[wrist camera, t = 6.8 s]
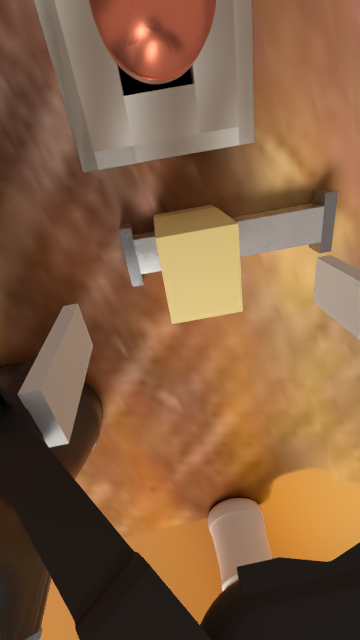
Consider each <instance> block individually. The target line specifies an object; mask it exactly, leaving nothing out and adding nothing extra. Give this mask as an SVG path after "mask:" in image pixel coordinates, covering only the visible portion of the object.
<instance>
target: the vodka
mask: <svg viewBox="0 0 360 640" xmlns="http://www.w3.org/2000/svg"><path fill="white" fill-rule="evenodd" d="M208 524H209V530H210V533H211V535H212V537H213V541H214V545H215V549H216V553H217V557H218V562H219V566H220V572H221V579H222V590H223V591H224V590H225V589H226V588H227V587H228V586H230V585H231V584H233V583H234V582H236V581H237V580H238V575H237V567H238V566H243V565H247V564H252V563H256V562H261V561H265V560H270V559H272V555H271V551H270V547H269V543H268V539H267V535H266V530H265V526H264V517H263V513H262V510H261V508H260V506H259V505H258V504H257V503H256V502H255V501H253V500H250V499H247V498H230V499H227V500H224V501H222V502H220V503H218V504H217V505H216V506H215V507H213V508H212V510H211V511H210V513H209V516H208Z"/></svg>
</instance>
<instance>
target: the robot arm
mask: <svg viewBox="0 0 360 640" xmlns="http://www.w3.org/2000/svg"><path fill="white" fill-rule="evenodd" d="M313 303H314V304H315V305H317V306H318V307H319V308H320V309H321V310H323V311H324V312H325V313H326V314H327V315H329V316H330V317H331V318H332V319H334V320H335V321H336V322H337V323H338V324H340V325H341V326H342V327H343V328H344V329H346V330H347V331H348V332H349V333H350V334H352V335H353V336H354V337H355V338H357V339H358V340H359V341H360V270H359V269H357V268H355V267H353V266H351V265H349V264H347V263H345V262H343V261H341V260H339V259H337V258H335V257H333V256H331V255H328V256H323V257H318V258H317V261H316V273H315V284H314V296H313ZM92 349H93V343H92V341H91V338H90V335H89V333H88V330H87V327H86V324H85V322H84V319H83V316H82V314H81V311H80V308H79V305H78V303H77V304H72V305H67V306H63V308H62V310H61V312H60V314H59V316H58V317H57V319H56V321H55V323H54V325H53V327H52V329H51V331H50V333H49V335H48V337H47V339H46V341H45V342H44V344H43V346H42V348H41V350H40V352H39V354H38V356H37V357H35V358H30V359H28V360H27V361H26V362H25V363H23V364H12V365H6V366H2V367H0V640H39V639H40V637H41V632H42V628H41V623H42V619H43V614H44V610H45V605H46V601H47V596H48V592H49V587H50V583H51V578H52V580H53V581H54V583H55V585H56V587H57V589H58V591H59V593H60V595H61V596H62V598H63V600H64V602H65V604H66V606H67V607H68V609H69V611H70V613H71V615H72V617H73V619H74V621H75V624H76V625H75V626H76V632H77V634H78V636H79V639H80V640H360V543H358V544H357V545H356V546H354V547H352V548H351V549H349V550H348V551H346V552H345V553H343V554H342V555H340V556H339V557H337V558H336V559H334V560H332V561H330V562H322V561H311V560H301V559H291V558H280V557H279V558H274V559H270V560H265V561H261V562H256V563H252V564H247V565H243V566H238V567H237V575H238V580H237V581H236V582H234V583H233V584H231V585H230V586H228V587H227V588H226V589H225V590H224V591H223V592H222V593H221V594H220V595H219V596H218V597H217V598H216V600H215V601H214V602H213V603H212V605H211V607H210V608H209V610H208V611H207V613H206V614H205V616H204V618H203V620H202V622H201V624H200V625H199V624H198V622H197V621H196V620H195V619H194V618H193V617H192V615H191V614H190V613H189V612H188V611H187V609H186V608H185V607H184V606H183V605H182V603H181V602H180V601H179V600H178V599H177V597H176V596H175V595H174V594H173V593H172V591H171V590H170V589H169V588H168V587H167V586H166V584H165V583H164V582H163V581H162V579H161V578H160V577H159V576H158V575H157V573H156V572H155V571H154V570H153V569H152V567H151V566H150V565H149V564H148V563H147V562H146V561H145V559H144V558H143V557H141V555H140V554H139V553H137V552H134V551H133V550H132V549H131V547H130V546H129V545H128V544H127V543H126V542H125V540H124V539H123V538H122V537H121V535H120V534H119V533H118V532H117V531H116V529H115V528H114V527H113V526H112V524H111V523H110V522H109V521H108V520H107V518H106V517H105V516H104V515H103V514H102V512H101V511H100V510H99V509H98V507H97V506H96V505H95V504H94V503H93V501H92V500H91V499H90V498H89V497H88V495H87V494H86V493H85V492H84V490H83V489H82V488H81V487H80V486H79V484H78V483H77V482H76V481H75V479H76V477H77V475H78V473H79V472H80V470H81V468H82V467H83V465H84V463H85V462H86V460H87V458H88V456H89V454H90V453H91V451H92V449H93V448H94V446H95V445H96V443H97V440H98V438H99V435H100V430H101V424H102V418H103V412H102V407H101V404H100V401H99V399H98V397H97V396H96V394H95V393H94V392H93V390H92V389H91V388H90V387H89V386H88V385H87V384H86V383H84V381H85V377H86V373H87V369H88V365H89V361H90V357H91V353H92Z"/></svg>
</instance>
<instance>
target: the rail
mask: <svg viewBox="0 0 360 640" xmlns="http://www.w3.org/2000/svg"><path fill="white" fill-rule="evenodd" d="M337 193H338V191H334V190H329V189H320V190H315V191H313V202H312V203H309V204H303V205H298V206H292V207H287V208H281V209H275V210H270V211H264V212H259V213H253V214H247V215H242V216H236V217H231V218H232V219H233V220H234V221H236V222H237V223H238V228H239V248H240V257H241V256H247V255H252V254H258V253H264V252H269V251H275V250H280V249H286V248H291V247H297V246H303V245H308V244H309V247H310V248H312V249H313V250H315V251H317V252H319V253H324V252H330V251H331V246H332V237H333V228H334V219H335V210H336V202H337ZM118 231H119V235H120V239H121V243H122V247H123V251H124V255H125V259H126V263H127V267H128V271H129V275H130V278H131V282H132V286H133V287H135V286H140V285H144V275H143V274H146V273H152V272H158V271H162V270H161V265H160V260H159V254H158V249H157V244H156V239H155V231H152V232H147V233H141V234H135V235H134V231H133V227H132V223H129V224H124V225H120V227H119V230H118Z"/></svg>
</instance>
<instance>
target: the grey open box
mask: <svg viewBox="0 0 360 640" xmlns="http://www.w3.org/2000/svg"><path fill="white" fill-rule="evenodd" d="M34 2H35V5H36V9H37V12H38V16H39V19H40V23H41V26H42V30H43V33H44V37H45V40H46V44H47V47H48V51H49V54H50V58H51V61H52V65H53V68H54V72H55V75H56V78H57V82H58V85H59V89H60V92H61V96H62V99H63V103H64V106H65V110H66V113H67V117H68V120H69V124H70V127H71V131H72V134H73V138H74V141H75V145H76V148H77V152H78V155H79V159H80V162H81V166H82V169H83V173H84V172H90V171H96V170H101V169H107V168H113V167H118V166H124V165H130V164H135V163H141V162H147V161H152V160H158V159H163V158H169V157H175V156H180V155H186V154H192V153H197V152H203V151H209V150H214V149H220V148H226V147H231V146H237V145H243V144H248V143H254V142H255V139H254V86H253V33H252V0H216V8H215V14H214V19H213V23H212V27H211V30H210V33H209V35H208V38H207V40H206V42H205V44H204V46H203V48H202V50H201V52H200V54H199V56H198V58H197V59H196V61H195V62H194V64H193V65H192V66H191V67H190V68H191V78H192V84H190V85H184V86H178V87H173V88H167V89H161V90H155V91H150V92H144V93H138V94H133V95H127V96H124V93H123V88H122V83H121V78H120V73H119V68H118V65H117V64H116V62H115V61H114V60H113V59H112V57H111V56H110V54H109V53H108V51H107V49H106V47H105V45H104V43H103V41H102V39H101V36H100V34H99V31H98V29H97V26H96V23H95V21H94V18H93V15H92V11H91V7H90V3H89V0H34Z"/></svg>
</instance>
